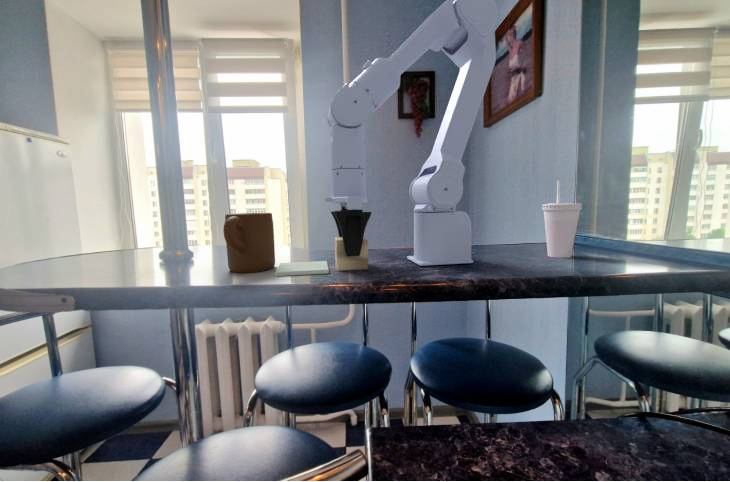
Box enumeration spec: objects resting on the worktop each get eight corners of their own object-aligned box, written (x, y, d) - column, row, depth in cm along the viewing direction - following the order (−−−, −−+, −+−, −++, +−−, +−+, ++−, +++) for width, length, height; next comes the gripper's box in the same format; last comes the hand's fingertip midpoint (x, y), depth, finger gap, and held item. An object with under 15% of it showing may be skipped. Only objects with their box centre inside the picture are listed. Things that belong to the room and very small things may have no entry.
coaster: (326, 264, 58) (326, 260, 57) (328, 273, 50) (328, 269, 50) (280, 266, 56) (280, 263, 56) (275, 276, 48) (274, 272, 48)
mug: (256, 279, 46) (252, 214, 45) (204, 280, 47) (199, 215, 46) (281, 264, 58) (278, 212, 57) (240, 265, 59) (236, 213, 58)
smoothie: (547, 252, 65) (550, 181, 63) (584, 255, 60) (588, 179, 58) (533, 256, 61) (536, 180, 59) (572, 260, 56) (576, 178, 54)
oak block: (363, 264, 58) (362, 236, 57) (368, 269, 53) (367, 238, 52) (335, 265, 57) (334, 237, 56) (337, 271, 52) (336, 240, 51)
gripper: (322, 174, 59) (324, 247, 61) (325, 164, 45) (328, 260, 47) (360, 174, 61) (361, 246, 62) (374, 165, 46) (376, 258, 48)
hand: (350, 252), depth 54 cm, fingers open, 7 cm apart
